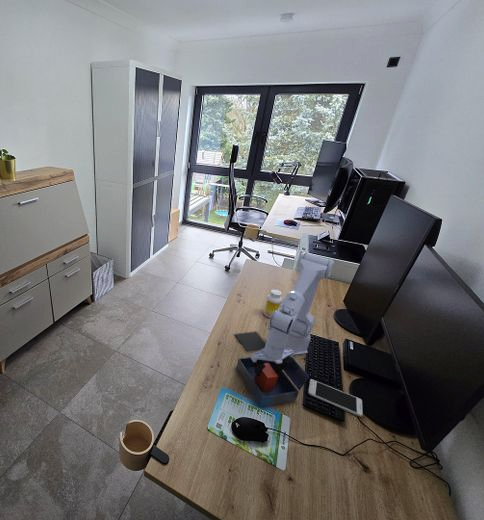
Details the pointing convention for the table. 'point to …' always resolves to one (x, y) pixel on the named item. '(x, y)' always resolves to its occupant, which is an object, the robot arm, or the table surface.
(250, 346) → the mat
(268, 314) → the supplement bottle
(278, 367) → the robot arm
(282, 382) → the carton
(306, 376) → the flap
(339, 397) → the smartphone
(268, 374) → the block
